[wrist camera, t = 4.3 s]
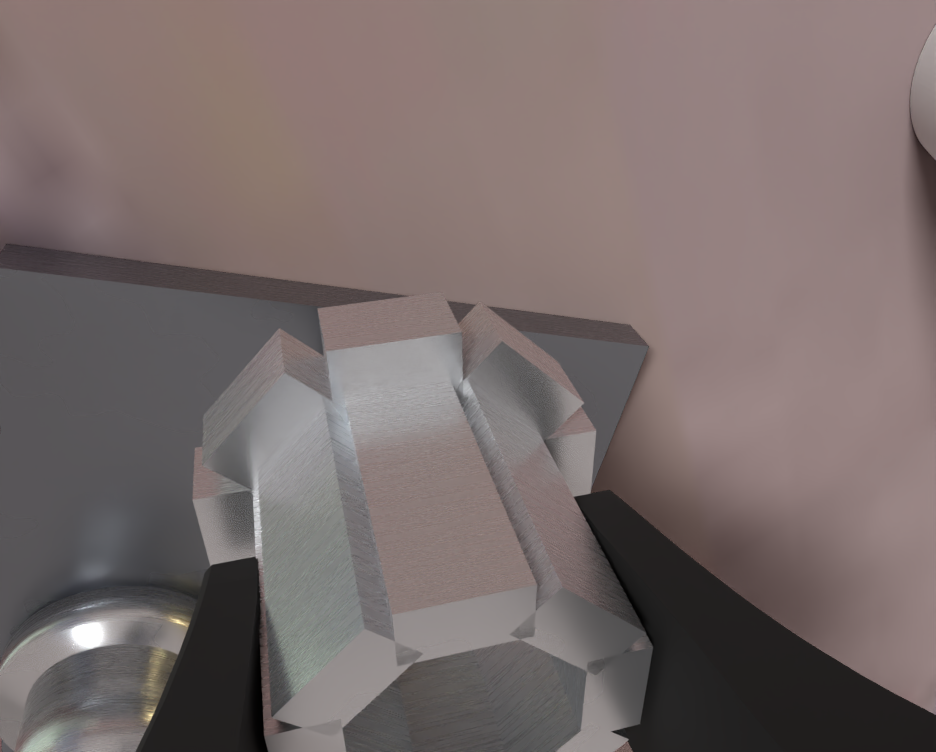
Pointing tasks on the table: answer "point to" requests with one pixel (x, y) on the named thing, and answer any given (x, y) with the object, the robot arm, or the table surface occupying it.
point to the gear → (420, 539)
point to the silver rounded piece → (91, 669)
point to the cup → (925, 96)
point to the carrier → (168, 408)
